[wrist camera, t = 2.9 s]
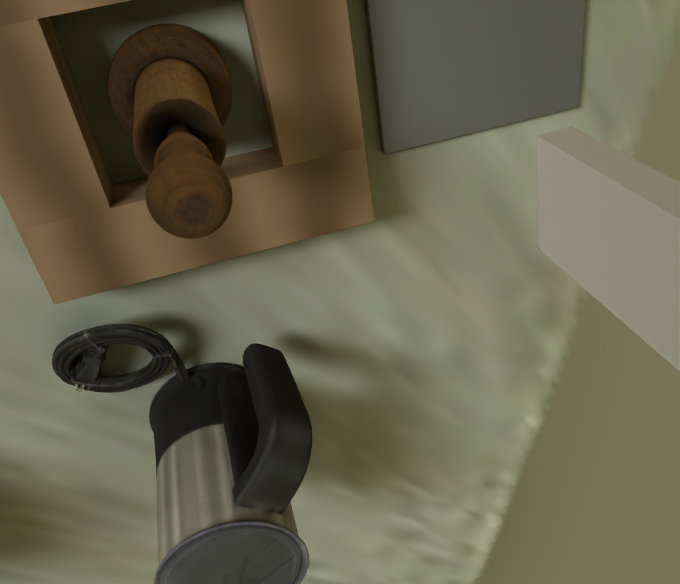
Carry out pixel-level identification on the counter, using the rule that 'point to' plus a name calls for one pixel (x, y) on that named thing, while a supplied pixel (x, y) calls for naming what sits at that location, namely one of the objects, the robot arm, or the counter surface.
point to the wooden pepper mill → (176, 124)
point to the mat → (471, 65)
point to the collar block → (129, 197)
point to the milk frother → (214, 456)
